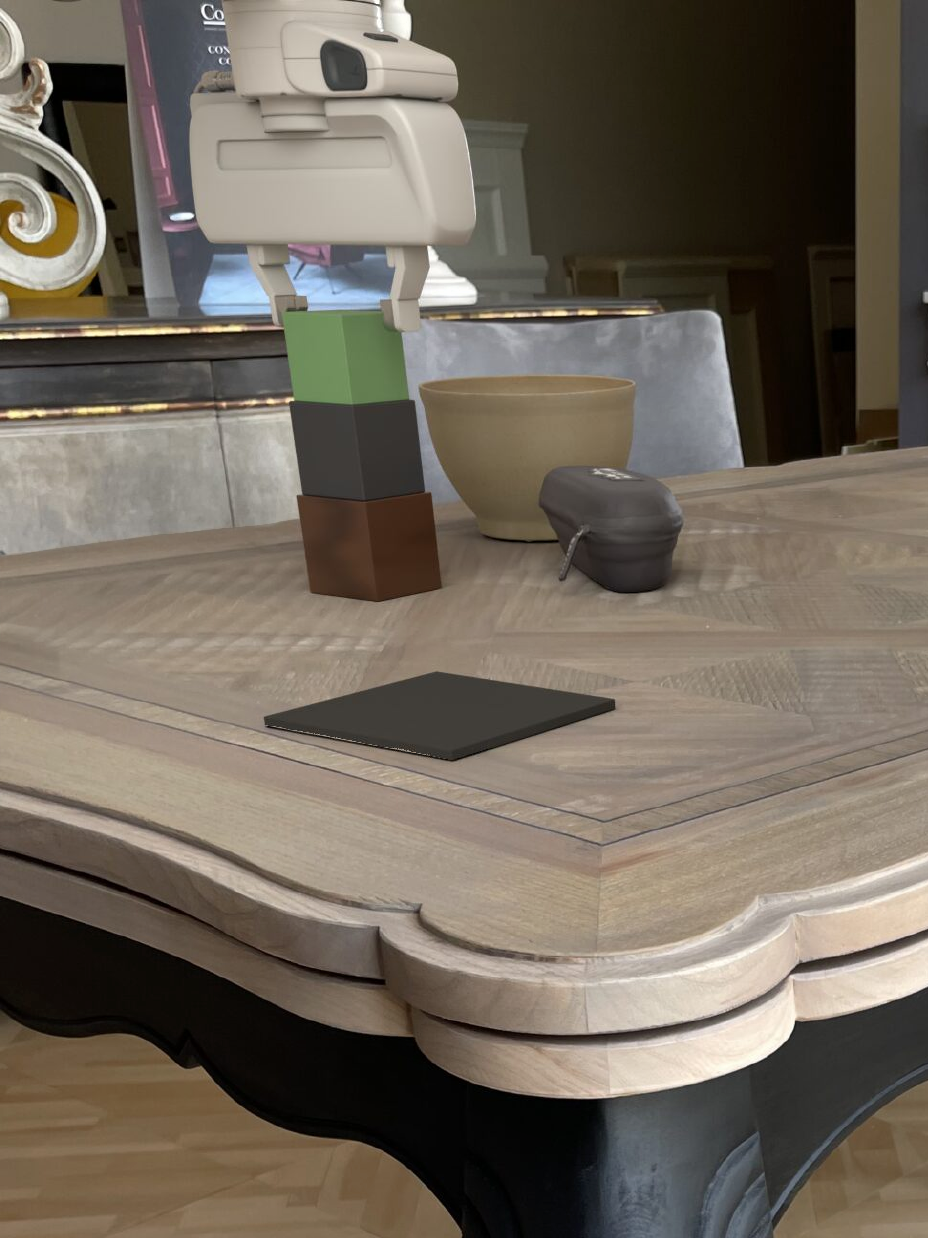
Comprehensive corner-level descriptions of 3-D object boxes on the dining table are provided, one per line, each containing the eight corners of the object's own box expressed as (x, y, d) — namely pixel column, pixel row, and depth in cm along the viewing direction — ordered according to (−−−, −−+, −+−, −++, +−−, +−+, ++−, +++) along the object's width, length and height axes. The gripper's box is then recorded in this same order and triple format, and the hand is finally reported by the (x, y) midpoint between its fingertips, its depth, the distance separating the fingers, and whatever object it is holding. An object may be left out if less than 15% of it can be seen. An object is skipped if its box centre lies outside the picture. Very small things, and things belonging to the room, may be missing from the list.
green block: (293, 401, 113) (280, 311, 110) (352, 395, 117) (341, 309, 114) (352, 405, 111) (340, 314, 108) (409, 399, 114) (399, 312, 112)
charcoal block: (301, 494, 115) (288, 401, 113) (364, 485, 120) (352, 395, 117) (364, 501, 113) (352, 405, 110) (426, 492, 117) (415, 399, 114)
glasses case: (733, 575, 120) (688, 460, 115) (593, 644, 118) (542, 530, 114) (655, 534, 134) (612, 429, 129) (529, 595, 132) (481, 491, 128)
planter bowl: (418, 525, 145) (401, 376, 139) (614, 515, 150) (604, 372, 145) (457, 555, 132) (439, 393, 127) (669, 543, 138) (660, 387, 132)
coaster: (264, 726, 87) (262, 716, 87) (437, 680, 96) (436, 670, 96) (452, 761, 82) (451, 750, 82) (616, 708, 91) (615, 698, 91)
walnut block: (310, 592, 118) (295, 495, 115) (376, 579, 123) (363, 485, 120) (377, 601, 116) (364, 502, 113) (442, 588, 120) (431, 492, 117)
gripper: (145, 68, 107) (190, 327, 114) (399, 55, 98) (432, 337, 105) (228, 75, 112) (267, 323, 118) (478, 63, 103) (504, 332, 110)
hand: (346, 329), depth 112 cm, fingers open, 8 cm apart
